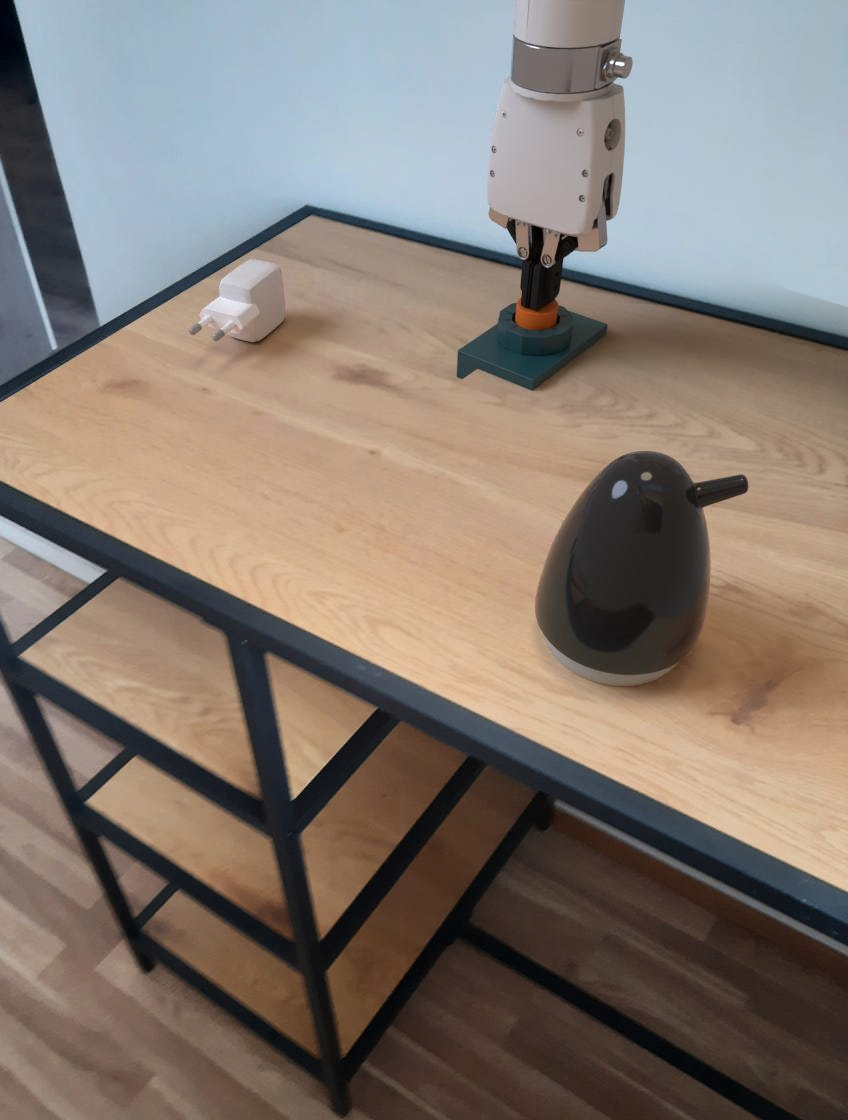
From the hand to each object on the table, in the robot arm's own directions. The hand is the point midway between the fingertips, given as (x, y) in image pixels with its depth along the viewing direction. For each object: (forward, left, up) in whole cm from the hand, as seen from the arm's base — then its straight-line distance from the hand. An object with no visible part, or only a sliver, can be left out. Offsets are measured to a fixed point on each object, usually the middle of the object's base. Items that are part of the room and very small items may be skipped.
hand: (538, 302), depth 81 cm
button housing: (0, 0, -6) cm, 6 cm away
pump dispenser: (+27, +24, -6) cm, 36 cm away
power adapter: (+14, -24, -6) cm, 28 cm away
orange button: (0, 0, -2) cm, 2 cm away
